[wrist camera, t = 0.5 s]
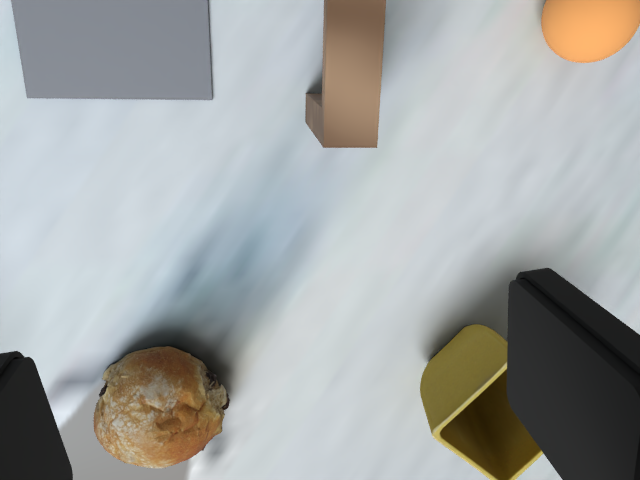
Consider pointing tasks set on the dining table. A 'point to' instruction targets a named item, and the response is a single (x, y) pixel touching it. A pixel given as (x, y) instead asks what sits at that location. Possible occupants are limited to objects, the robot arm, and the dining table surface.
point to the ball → (589, 27)
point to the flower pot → (476, 405)
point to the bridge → (349, 75)
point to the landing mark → (114, 49)
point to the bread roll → (158, 407)
